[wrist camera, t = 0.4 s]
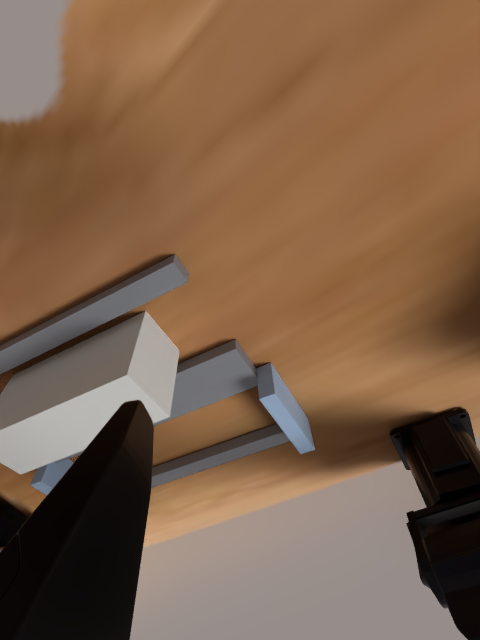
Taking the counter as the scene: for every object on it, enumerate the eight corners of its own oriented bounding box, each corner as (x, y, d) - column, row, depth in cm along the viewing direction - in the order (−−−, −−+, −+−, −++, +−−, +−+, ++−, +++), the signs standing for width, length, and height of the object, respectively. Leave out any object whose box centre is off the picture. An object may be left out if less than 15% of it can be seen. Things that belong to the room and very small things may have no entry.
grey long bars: (298, 428, 32) (300, 437, 32) (114, 490, 37) (112, 500, 37) (175, 254, 22) (173, 262, 21) (-55, 374, 27) (-64, 384, 26)
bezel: (308, 418, 32) (315, 449, 29) (100, 490, 37) (91, 521, 35) (270, 362, 28) (275, 393, 25) (44, 453, 33) (30, 485, 31)
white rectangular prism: (179, 349, 27) (169, 417, 22) (53, 404, 30) (20, 474, 25) (146, 309, 25) (126, 374, 20) (13, 373, 28) (-31, 443, 23)
